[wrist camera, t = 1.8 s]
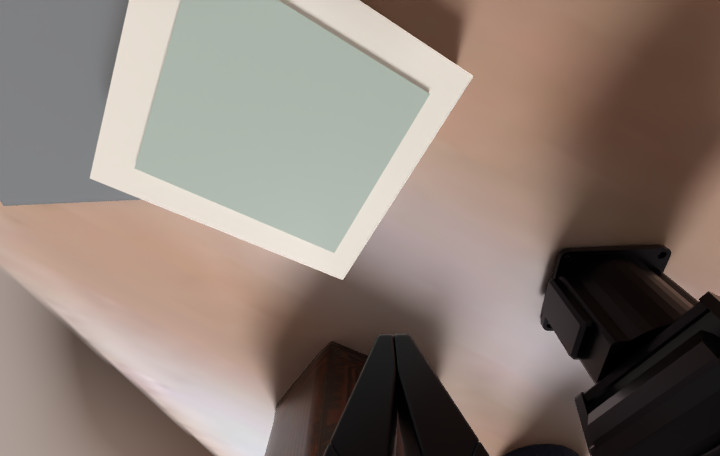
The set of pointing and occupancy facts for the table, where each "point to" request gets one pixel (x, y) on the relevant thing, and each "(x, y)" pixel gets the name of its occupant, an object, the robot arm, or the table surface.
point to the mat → (55, 97)
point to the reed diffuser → (543, 451)
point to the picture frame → (272, 119)
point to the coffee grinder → (317, 404)
